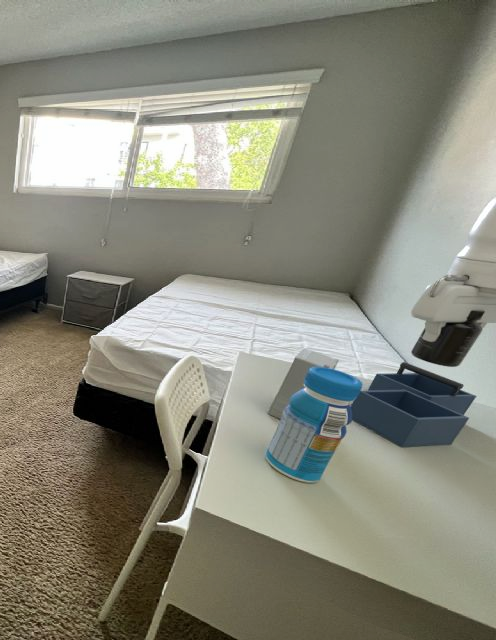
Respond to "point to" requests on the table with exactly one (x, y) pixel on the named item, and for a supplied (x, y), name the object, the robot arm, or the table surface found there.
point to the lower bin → (407, 418)
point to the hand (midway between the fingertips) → (445, 340)
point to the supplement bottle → (450, 342)
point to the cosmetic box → (298, 378)
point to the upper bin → (426, 387)
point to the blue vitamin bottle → (313, 424)
